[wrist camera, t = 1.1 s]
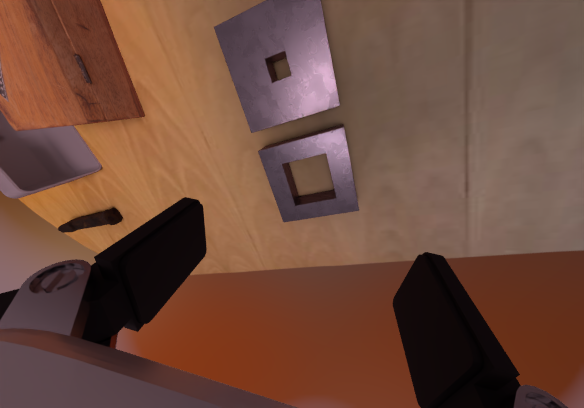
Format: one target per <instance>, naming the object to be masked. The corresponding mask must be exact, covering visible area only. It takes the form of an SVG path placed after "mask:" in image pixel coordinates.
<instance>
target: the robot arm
mask: <svg viewBox="0 0 584 408" xmlns="http://www.w3.org/2000/svg"><path fill="white" fill-rule="evenodd" d="M205 254H206V237H205V225H204V213H203V205H202V204H200V202H199V201H198V200H196V199H191V198H187V197H185V198H183V199H181V200H180V201H178V202H177V203H175V204H173V205H172V206H170V207H169V208H167V209H166V210H164V211H163V212H161V213H160V214H158V215H157V216H155V217H154V218H152V219H151V220H149V221H148V222H146V223H145V224H143V225H142V226H140V227H139V228H137V229H136V230H134V231H133V232H131V233H130V234H128V235H127V236H125V237H124V238H122V239H121V240H119V241H118V242H116V243H115V244H113V245H112V246H110V247H109V248H107V249H106V250H104V251H103V252H101V253H99V254H98V255H97V256H95V257H94V258H95V260H96V263H94V264H93V265H90V264H89V263H88V262H86V261H84V260H67V261H62V262H58V263H55V264H52V265H50V266H48V267H45V268H43V269H41V270H39V271H38V272H36V273H34V274H33V275H32V276H30V277H29V278H28V279H27V280H26V281H25V282H24V283H23V284H22V286H21V288H20V289H17V290H13V291H9V292H5V293H1V294H0V408H297V407H293V406H291V405H287V404H284V403H281V402H278V401H275V400H272V399H269V398H266V397H263V396H260V395H257V394H253V393H251V392H248V391H245V390H242V389H238V388H235V387H232V386H229V385H226V384H223V383H220V382H217V381H214V380H211V379H208V378H205V377H202V376H198V375H195V374H192V373H189V372H186V371H183V370H180V369H177V368H173V367H170V366H167V365H164V364H161V363H158V362H155V361H151V360H148V359H145V358H142V357H139V356H136V355H133V354H130V353H127V352H123V351H120V350H117V349H116V343H117V335H118V332H119V331H120V330H121V329H122V328H123V327H125V328H128V329H131V330H134V331H137V332H138V331H139V330H140V329H141V327H142V326H143V325H144V324H147V323H149V322H150V321H151V320H152V319H153V318H154V317H155V315H156V314H157V313H158V312H159V311H160V309H161V308H162V307H163V306H164V305H165V303H166V302H167V301H168V300H169V299H170V297H171V296H172V295H173V294H174V293H175V291H176V290H177V289H178V288H179V287H180V285H181V284H182V283H183V282H184V281H185V279H186V278H187V277H188V276H189V275H190V273H191V272H192V271H193V270H194V269H195V267H196V266H197V265H198V264H199V263H200V261H201V260H202V259H203V258H204V256H205ZM393 308H394V312H395V316H396V319H397V324H398V328H399V332H400V335H401V339H402V343H403V347H404V351H405V355H406V359H407V363H408V367H409V371H410V375H411V379H412V382H413V386H414V390H415V394H416V398H417V401H418V404H419V406H420V407H421V408H568V407H567V406H565V405H564V404H563V403H562V402H560V401H559V400H558V399H556V398H555V397H553V396H552V395H550V394H549V393H547V392H546V391H543V390H541V389H539V388H537V387H534V386H530V385H523V386H521V385H520V384H519V382H518V380H517V379H516V377H517V376H519V375H520V374H519V373H518V371H517V369H516V368H515V366H514V365H513V363H512V362H511V360H510V359H509V357H508V355H507V354H506V352H505V351H504V349H503V348H502V346H501V345H500V343H499V342H498V340H497V338H496V337H495V335H494V334H493V332H492V331H491V329H490V328H489V326H488V325H487V323H486V321H485V320H484V318H483V317H482V315H481V314H480V312H479V311H478V309H477V308H476V306H475V305H474V303H473V301H472V300H471V298H470V297H469V295H468V294H467V292H466V291H465V289H464V287H463V286H462V284H461V283H460V281H459V280H458V278H457V277H456V275H455V274H454V272H453V270H452V269H451V267H450V266H449V264H448V263H447V261H446V260H445V258H444V257H443V256H441V255H437V254H433V253H428V252H425V253H423V254H422V255H418V256H417V258H416V260H415V262H414V263H413V265H412V267H411V269H410V270H409V272H408V274H407V276H406V277H405V279H404V281H403V283H402V284H401V286H400V288H399V289H398V291H397V293H396V295H395V297H394V299H393Z"/></svg>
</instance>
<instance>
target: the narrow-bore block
mask: <svg viewBox="0 0 584 408" xmlns="http://www.w3.org/2000/svg"><path fill="white" fill-rule="evenodd" d="M214 29H215V32H216V35H217V38H218V40H219V43H220V46H221V49H222V52H223V54H224V57H225V60H226V63H227V66H228V68H229V71H230V74H231V77H232V80H233V82H234V85H235V88H236V91H237V93H238V96H239V99H240V102H241V105H242V107H243V110H244V113H245V116H246V119H247V121H248V124H249V127H250V130H251V133H253V132H256V131H260V130H263V129H266V128H269V127H272V126H276V125H279V124H282V123H285V122H289V121H292V120H295V119H298V118H301V117H305V116H308V115H311V114H314V113H318V112H321V111H324V110H327V109H330V108H334V107H337V106H340V103H339V98H338V93H337V87H336V82H335V76H334V71H333V65H332V60H331V54H330V49H329V44H328V38H327V33H326V27H325V22H324V16H323V11H322V6H321V0H266V1H264V2H262V3H260V4H258V5H256V6H254V7H252V8H250V9H248V10H247V11H245V12H243V13H241V14H239V15H237V16H235V17H233V18H231V19H229V20H227V21H225V22H223V23H221V24H219V25H217V26H215V27H214ZM286 57H287V59H288V63H289V67H290V71H291V75H292V76H290V77H287V78H284V79H282V80H279V81H278V80H277V76H276V73H275V69H274V65H273V63H274V62H276V61H279V60H281V59H283V58H286Z"/></svg>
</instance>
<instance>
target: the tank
mask: <svg viewBox="0 0 584 408" xmlns="http://www.w3.org/2000/svg"><path fill="white" fill-rule="evenodd" d="M101 167H102V165H101V164H100V163H99V161H98V160H97V158H96V157H95V155H94V154H93V153H92V151H91V150H90V148H89V147H88V145H87V144H86V143H85V141H84V140H83V138H82V137H81V136H80V134H79V133H78V131H77V130H76V128H75V127H74V126H64V127H53V128H43V129H34V130H24V131H16V130H14V129H13V128H12V126H11V125H10V124H9V122H8V121H7V119H6V118H5V116H4V115H3V113H2V112H1V110H0V191H1V192H2V193H3V194H4V195H6V196H7V197H10V198H21V197H24V196H27V195H31V194H34V193H37V192H40V191H43V190H46V189H49V188H52V187H55V186H58V185H62V184H65V183H68V182H71V181H74V180H77V179H79V178H82V177H84V176H87V175H90V174H92V173H95V172H97V171H99V170H100V169H101Z"/></svg>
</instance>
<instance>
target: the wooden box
mask: <svg viewBox="0 0 584 408" xmlns="http://www.w3.org/2000/svg"><path fill="white" fill-rule="evenodd" d="M0 110H1V112H2V113H3V115H4V116H5V118H6V119H7V121H8V122H9V124H10V125H11V126H12V128H13V129H14V130H16V131H24V130H34V129H43V128H53V127H64V126H73V125H81V124H90V123H98V122H107V121H115V120H122V119H130V118H139V117H144V112H143V110H142V107H141V104H140V102H139V99H138V97H137V94H136V91H135V89H134V87H133V84H132V81H131V79H130V76H129V74H128V71H127V68H126V66H125V63H124V61H123V58H122V56H121V53H120V50H119V48H118V45H117V43H116V40H115V38H114V35H113V32H112V30H111V27H110V25H109V22H108V19H107V17H106V14H105V12H104V9H103V6H102V4H101V1H100V0H0Z"/></svg>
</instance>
